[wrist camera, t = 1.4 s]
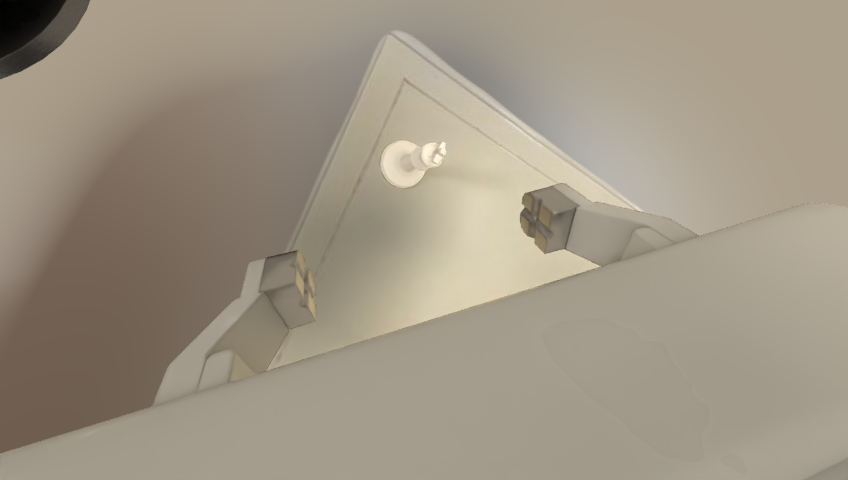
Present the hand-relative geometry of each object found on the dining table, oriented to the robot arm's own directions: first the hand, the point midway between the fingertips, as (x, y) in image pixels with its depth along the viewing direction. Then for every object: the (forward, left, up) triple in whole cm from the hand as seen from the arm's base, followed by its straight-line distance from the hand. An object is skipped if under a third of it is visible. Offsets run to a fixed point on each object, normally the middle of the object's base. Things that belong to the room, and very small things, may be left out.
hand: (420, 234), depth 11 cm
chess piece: (+5, +6, -22) cm, 23 cm away
